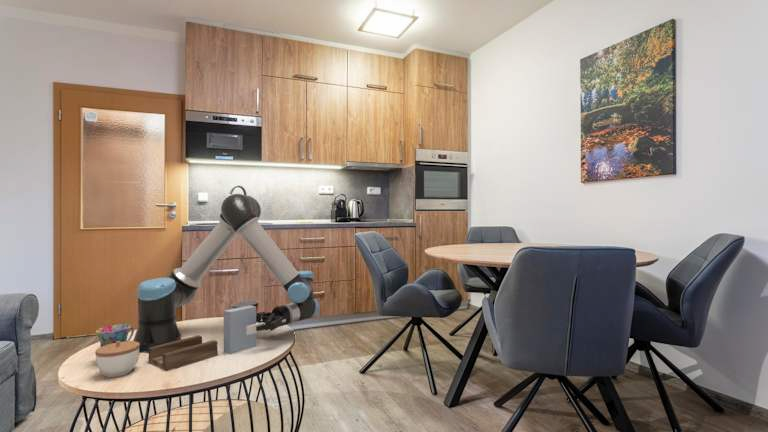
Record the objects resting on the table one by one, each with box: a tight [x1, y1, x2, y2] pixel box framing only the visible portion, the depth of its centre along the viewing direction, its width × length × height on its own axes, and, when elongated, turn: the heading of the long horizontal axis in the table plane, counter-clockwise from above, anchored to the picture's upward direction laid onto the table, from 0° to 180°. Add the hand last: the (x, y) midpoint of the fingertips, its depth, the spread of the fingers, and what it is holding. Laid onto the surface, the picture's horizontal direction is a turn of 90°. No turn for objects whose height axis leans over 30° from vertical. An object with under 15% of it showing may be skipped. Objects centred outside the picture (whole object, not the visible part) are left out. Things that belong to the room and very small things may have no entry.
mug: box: [95, 323, 135, 347], centre depth 123 cm, size 12×9×11 cm
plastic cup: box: [230, 299, 260, 313], centre depth 152 cm, size 11×11×12 cm
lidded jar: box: [94, 340, 140, 378], centre depth 112 cm, size 11×11×9 cm
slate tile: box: [223, 305, 257, 355], centre depth 132 cm, size 4×10×14 cm, turn 143°
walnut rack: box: [147, 334, 219, 372], centre depth 123 cm, size 13×16×4 cm
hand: (235, 327), depth 130 cm, fingers open, 13 cm apart
